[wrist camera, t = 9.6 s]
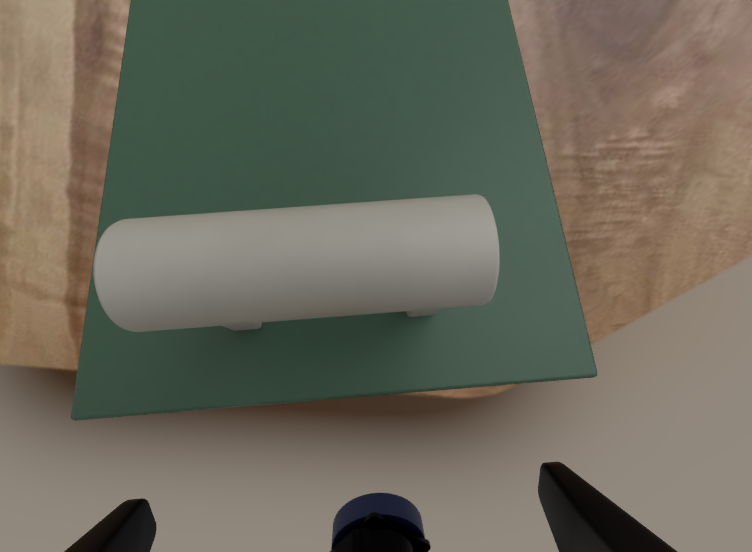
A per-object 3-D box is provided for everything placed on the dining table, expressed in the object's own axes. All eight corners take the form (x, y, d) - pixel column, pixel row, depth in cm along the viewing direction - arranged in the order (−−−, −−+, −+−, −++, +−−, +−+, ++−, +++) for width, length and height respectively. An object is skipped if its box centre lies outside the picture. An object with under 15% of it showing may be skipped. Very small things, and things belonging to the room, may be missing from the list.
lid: (583, 377, 9) (822, 371, 4) (92, 417, 9) (-257, 462, 4) (496, -2, 12) (572, -243, 7) (143, 18, 12) (-8, -219, 7)
